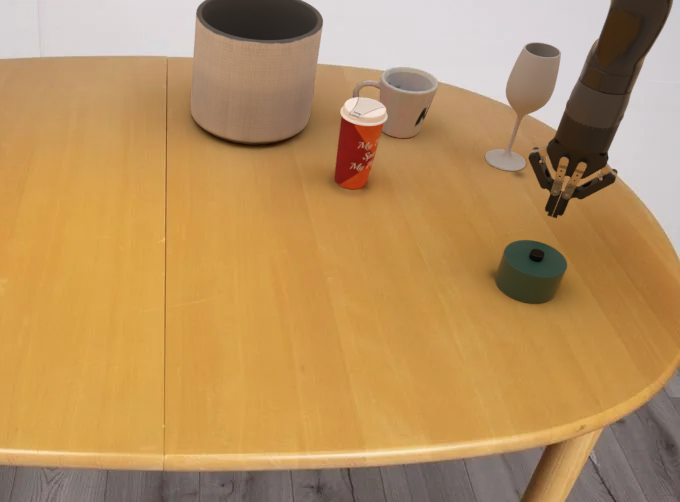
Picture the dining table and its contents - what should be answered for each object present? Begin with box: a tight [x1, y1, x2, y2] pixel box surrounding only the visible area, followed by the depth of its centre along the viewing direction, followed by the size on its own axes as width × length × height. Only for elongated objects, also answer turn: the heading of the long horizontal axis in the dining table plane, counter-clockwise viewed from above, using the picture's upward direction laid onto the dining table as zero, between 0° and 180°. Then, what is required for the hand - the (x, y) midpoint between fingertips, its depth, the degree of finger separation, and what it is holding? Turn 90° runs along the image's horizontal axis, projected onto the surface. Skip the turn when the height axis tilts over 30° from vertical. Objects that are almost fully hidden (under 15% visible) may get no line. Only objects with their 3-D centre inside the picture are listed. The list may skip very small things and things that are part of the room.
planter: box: [189, 0, 324, 145], centre depth 159 cm, size 23×23×20 cm
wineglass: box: [484, 41, 562, 173], centre depth 151 cm, size 8×8×21 cm
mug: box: [352, 66, 440, 139], centre depth 162 cm, size 10×15×10 cm
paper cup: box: [334, 96, 387, 190], centre depth 147 cm, size 8×8×14 cm
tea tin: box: [494, 239, 568, 305], centre depth 130 cm, size 9×9×6 cm
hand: (552, 214), depth 134 cm, fingers closed
